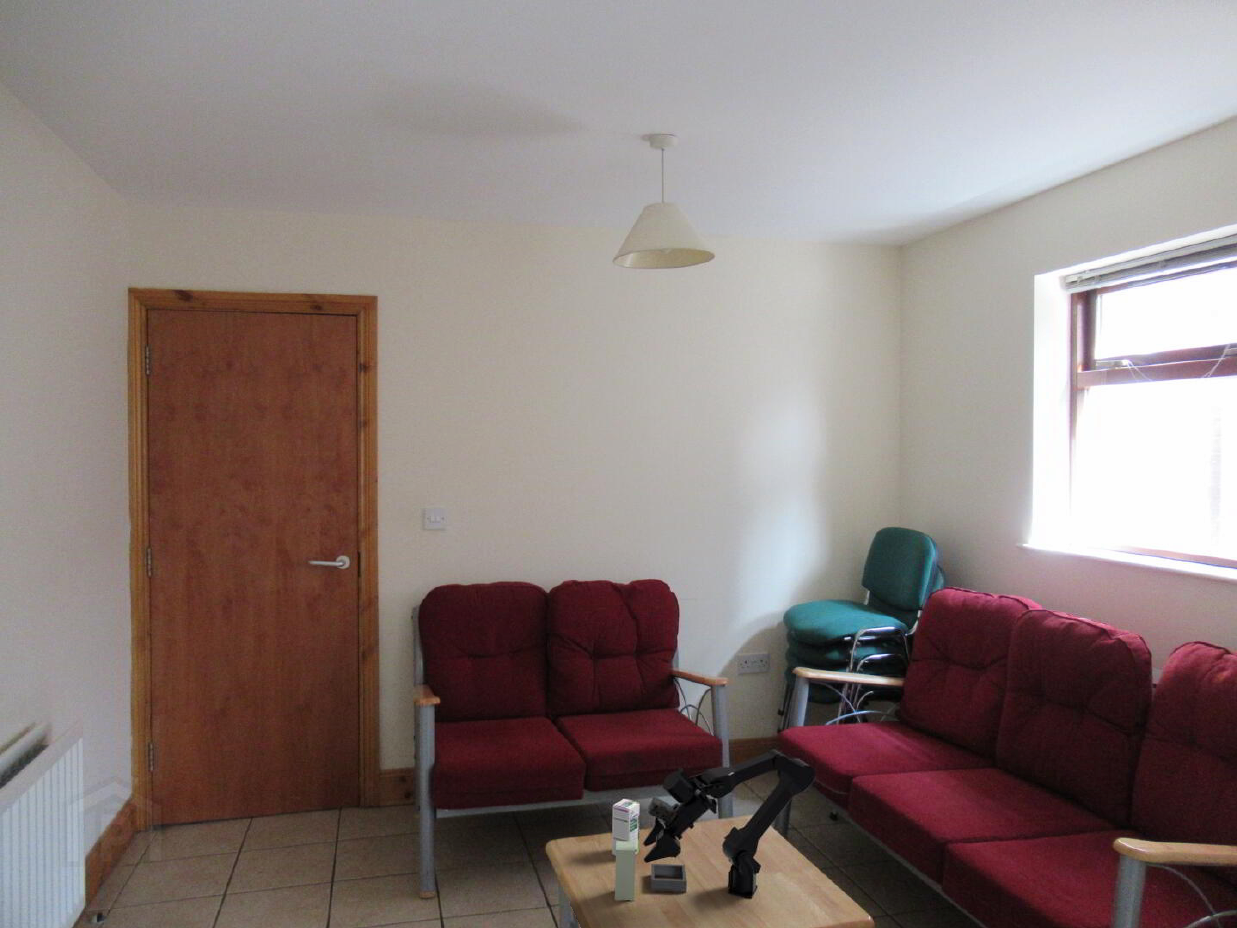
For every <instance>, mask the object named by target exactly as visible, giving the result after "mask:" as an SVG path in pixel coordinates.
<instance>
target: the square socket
mask: <svg viewBox="0 0 1237 928" xmlns="http://www.w3.org/2000/svg"><path fill="white" fill-rule="evenodd" d="M660 876H670V877H669V878H656V877H660ZM673 878H675V879H673ZM677 878H678V879H677ZM679 878H681V879H679ZM650 882H651V883H650V884H651V885H650V886H651V887H650V888H651V890H652V891H651V892H654V891H662V892H661V893H682V892H685V894H686V893H687V890H688V889H687V887H688V886H687V873H686V865H685V864H669V863H668V864H667V863H666V864H665V863H651V864H650Z"/></svg>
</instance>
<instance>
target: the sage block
mask: <svg viewBox="0 0 1237 928" xmlns="http://www.w3.org/2000/svg"><path fill="white" fill-rule="evenodd" d="M636 855H637V854H636V842H626V841H616V856H615V876H614V877H615V879H614V880H615V881H614V901H622V900H630V901H629V902H631V901H632V902H635V891H636V887H635V886H636V885H635V884H636Z"/></svg>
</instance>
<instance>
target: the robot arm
mask: <svg viewBox="0 0 1237 928" xmlns="http://www.w3.org/2000/svg"><path fill="white" fill-rule="evenodd" d="M776 770H780V774H779V779H778V783H777V785H776V786H775V788H774V789H773V790H772V792H771V793H770V794H769V795H768V796H767V798H766V799H765V800H764V802H763V803H762V804H761V805H760V807H758V809H757V810H756V812H755V813H754V814H753V815H752V817H751V818H750V819H749V820H748V822H746V825H744V826H742V827H741V828H739V829H738V828H737V827H736V826H733V827H732V828H731V829H730V831H729V832H728V833H727V835H725V836H724V837H723V839H724V840H723V842H722V845H721V847H722V849H721V850H722V853H723V855H724V857H726V858H727V860H728V862H729V863H731V866H730V868H729V871H728V872H727V873H728V876H727V887H728V889H727V893H728V894H730V895H731V894H732V895H736V896H740V897H744V898H750V899H753V897H754V895H755V893H756V892H757V890H758V887H759V886H758V885H757V874H759V873H760V870H761V868H762V865H761V863H759V862H758V861H757V860H756V859H755V858H754V857H755V855H756V854H757V851H758V847H759V842H760V839H761V838H762V837H763V836H764V834H765V833H766V832H767V831H768V829H769V828H770V827H771V825H772V824H773V823H774V822H775V820H776V819H777V818H778V817H779V816H780V814H781V813H782V812H783V810H784V809H785V808H786V807H787V805H788V804H789V802H790V801H791V800H792V799H793V798H794V797H795V796H798V795H799V794H802V793H805V791H807V789H808V788H809V787H810V786H812V785H813V783H814V782H815V780H816V776H815V775H816V772H815V770H814V768H813V767H812V766H810V765H809V764H807V763H806V762H804V761H803V760H801V759H800V758H797V757H794V758H790V757H789V756H787V755H785V754H782V753H781V752H780V751H778V750H776V749H769V750H767V752H764V753H763V754H760V755H758V756H755V757H752V758H750V759H747V760H744V761H742V762H739V763H736V764H735V765H732V766H727V767H725V766H723V767H722V766H718V767H713V768H708V769H706V770H704V771H703V772H702V773H699V774H696V775H692V776H689V775H688V773H687V772H686V771H685V770H684V769H682V767H679V768H678V770H675V771H672V772H670V774H668V775H666V777H665V778H664V781H663V782H662V789H663V790H665V792H666V793H667V794H669V795H670V797H672V798H673V800H675V801H676V802H677V803H674V804H673V805H671V804H669V803H668V802H666V801H664V800H662V799H660V798H659V797H655V796H653V797H652V799H651V801H650V803H649V805H648V808H647V810H648V814H649V815H650V816H652V817H654V824H653V826H652V828H651V830H650V831H649V833H648V835H647V836H646V838H645V839H644V841H643V844H642V845H643V846H644V847H649V846H651V845H653V844H654V845H653V847H652V848H651V849H650V850H649V851H648V853H647V854H646V855H645V857H644V858H643V861H644V862H645V863H647V864H648V863H651V862H655V861H658V860H661V859H662V860H663V859H668V858H674V859H676V858H677V857H678V856H679V855H680V854H682V853H681V852H682V847H681V840H682V839H683V834H684V833H685V832H686V831H688V829H690V830H692V829H694V827H695V823H696V822H698V820H699V819H700V818H702V816H704V815H705V814H706V813H707V812H708V811H709V810H710V811H711V813H713V814H714V815H716V814H717V812H718V811H717V810H718V809H717V806H718V802H717V800H720V799H723V798H725V797H726V796H727V795H729V794H730V793H732V792H734V790H735V788H736V787H737V786H740V784H743V783H746V782H748V781H750V780H753V779H756V778H759V777H761V776H762V775H765V774H768V773H771V772H773V771H776ZM709 796H710V797H712V798H710V797H709Z"/></svg>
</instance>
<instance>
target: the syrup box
mask: <svg viewBox="0 0 1237 928" xmlns="http://www.w3.org/2000/svg"><path fill="white" fill-rule="evenodd" d="M611 826H612V833H611V834H612V839H611V842H612V843H611V849H612V850H611V855H613V856H615V857H616V841H626V842H636V855H637V854H638V852H639V853H640V802H638V801H635V800H632V799H627V798H623V799H622V800H620V801H618V802H616V803H614V804H613V805H612V825H611Z"/></svg>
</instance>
